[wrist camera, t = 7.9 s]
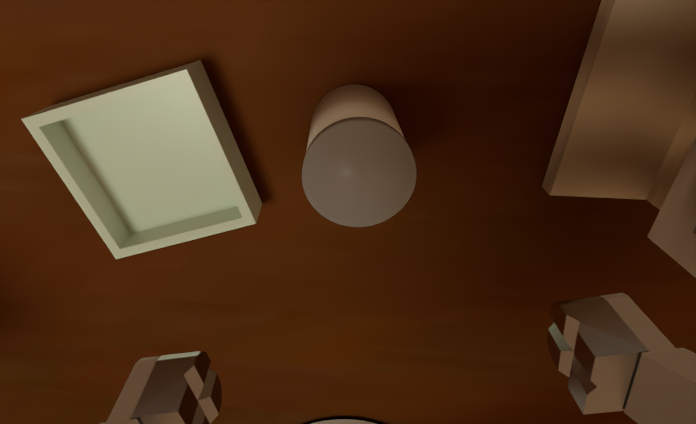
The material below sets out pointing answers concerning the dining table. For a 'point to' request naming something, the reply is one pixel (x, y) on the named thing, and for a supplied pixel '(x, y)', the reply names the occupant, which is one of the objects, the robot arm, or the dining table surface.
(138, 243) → the service tray
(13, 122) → the dining table surface
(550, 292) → the dining table surface
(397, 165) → the cartridge
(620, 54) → the plate
